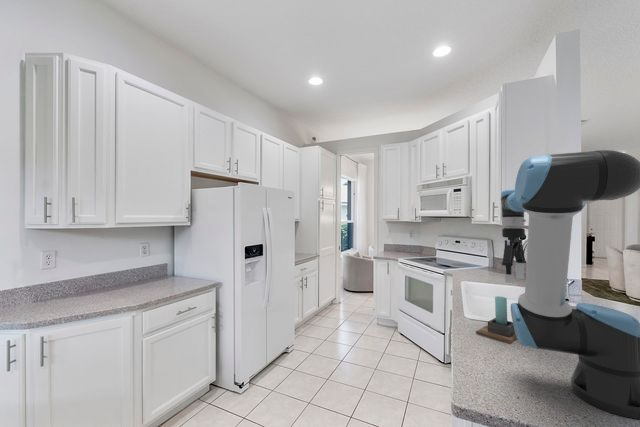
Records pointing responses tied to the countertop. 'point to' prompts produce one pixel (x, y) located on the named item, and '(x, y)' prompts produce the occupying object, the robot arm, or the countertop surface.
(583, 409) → the countertop surface
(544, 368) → the countertop surface
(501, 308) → the dowel
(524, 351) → the countertop surface
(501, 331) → the bracket board
